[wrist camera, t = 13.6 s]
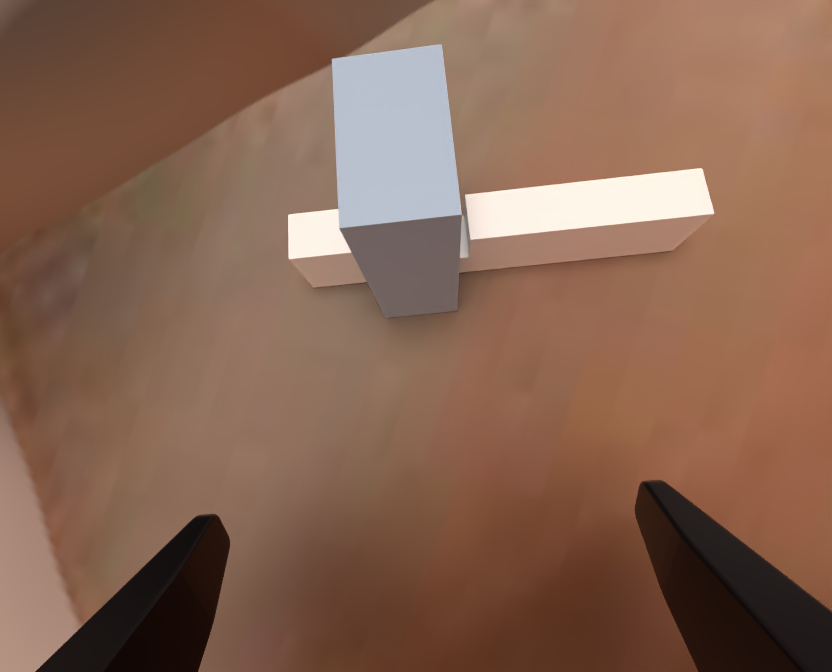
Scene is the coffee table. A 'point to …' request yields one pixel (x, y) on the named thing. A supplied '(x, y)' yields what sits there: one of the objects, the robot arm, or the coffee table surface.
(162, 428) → the coffee table surface
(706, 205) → the slotted rail
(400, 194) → the slotted block
